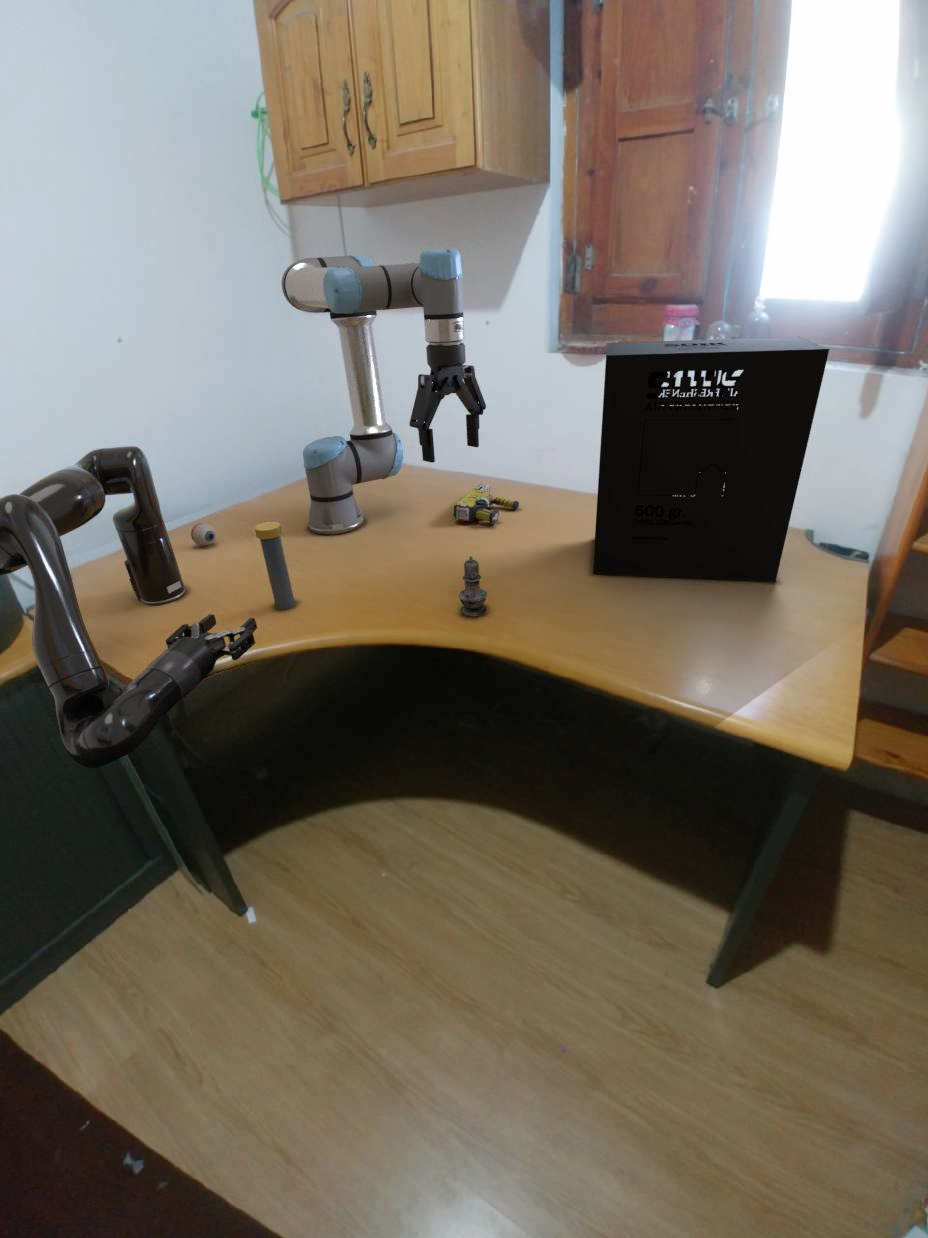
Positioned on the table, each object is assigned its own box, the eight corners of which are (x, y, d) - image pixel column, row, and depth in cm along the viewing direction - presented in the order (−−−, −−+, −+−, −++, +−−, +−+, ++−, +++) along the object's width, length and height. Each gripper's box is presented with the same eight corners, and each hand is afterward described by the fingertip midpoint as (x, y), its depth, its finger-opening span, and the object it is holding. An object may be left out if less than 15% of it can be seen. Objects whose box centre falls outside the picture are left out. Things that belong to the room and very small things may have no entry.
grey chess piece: (485, 617, 120) (483, 562, 114) (456, 616, 121) (452, 561, 115) (490, 603, 125) (488, 550, 119) (462, 602, 126) (459, 549, 120)
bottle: (286, 599, 132) (269, 523, 123) (298, 603, 130) (282, 526, 121) (272, 606, 129) (253, 529, 120) (284, 611, 127) (266, 533, 118)
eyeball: (204, 551, 157) (198, 529, 154) (189, 547, 160) (183, 525, 157) (223, 542, 162) (217, 521, 159) (208, 539, 165) (202, 518, 162)
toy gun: (527, 488, 179) (479, 481, 183) (505, 513, 159) (452, 504, 162) (525, 503, 181) (478, 496, 185) (503, 529, 161) (451, 520, 165)
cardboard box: (755, 543, 144) (798, 336, 121) (775, 581, 127) (829, 348, 104) (594, 538, 151) (606, 342, 129) (592, 573, 134) (606, 355, 112)
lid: (271, 528, 124) (269, 519, 123) (287, 532, 122) (285, 524, 121) (251, 536, 121) (249, 527, 120) (267, 541, 118) (265, 532, 117)
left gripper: (210, 655, 95) (263, 605, 108) (134, 647, 98) (194, 599, 112) (222, 693, 99) (272, 640, 112) (148, 684, 102) (205, 634, 115)
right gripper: (411, 351, 106) (421, 471, 116) (501, 336, 121) (503, 442, 132) (383, 350, 110) (395, 465, 121) (473, 335, 126) (477, 438, 136)
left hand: (233, 620), depth 112 cm, fingers open, 8 cm apart
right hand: (451, 453), depth 126 cm, fingers open, 13 cm apart
